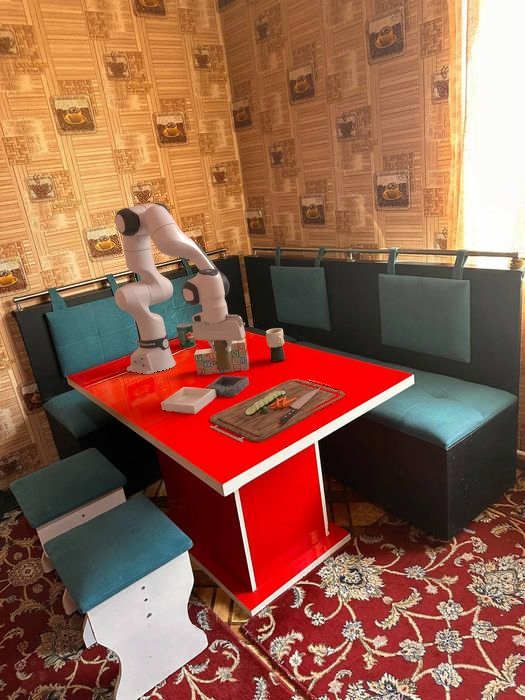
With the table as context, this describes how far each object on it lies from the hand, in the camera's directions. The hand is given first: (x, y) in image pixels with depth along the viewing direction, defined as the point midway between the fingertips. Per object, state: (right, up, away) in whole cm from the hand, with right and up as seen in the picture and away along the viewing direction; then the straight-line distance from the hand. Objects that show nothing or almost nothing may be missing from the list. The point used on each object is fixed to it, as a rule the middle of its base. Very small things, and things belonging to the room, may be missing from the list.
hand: (222, 351), depth 185 cm
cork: (+1, -6, +2) cm, 7 cm away
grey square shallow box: (+2, -14, +5) cm, 15 cm away
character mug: (+21, -4, +29) cm, 36 cm away
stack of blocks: (-1, -8, +26) cm, 27 cm away
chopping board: (+20, -19, -16) cm, 33 cm away
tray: (-11, -19, -3) cm, 22 cm away
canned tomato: (-22, +2, +66) cm, 70 cm away
